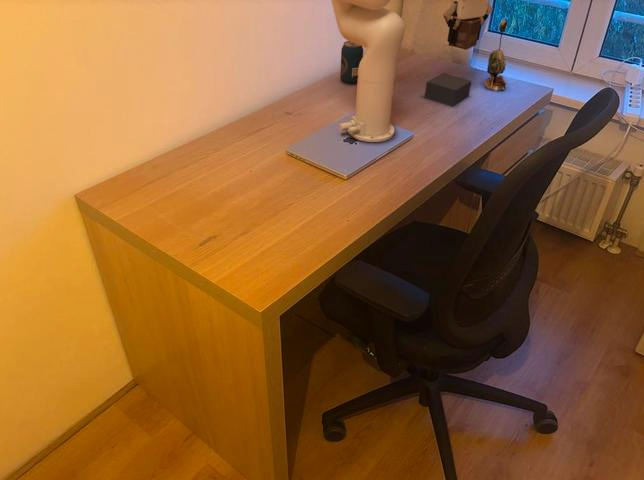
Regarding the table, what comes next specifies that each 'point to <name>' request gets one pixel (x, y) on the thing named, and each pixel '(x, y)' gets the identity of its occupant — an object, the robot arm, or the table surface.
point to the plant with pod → (497, 65)
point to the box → (467, 33)
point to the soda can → (350, 62)
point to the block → (447, 89)
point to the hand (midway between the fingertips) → (462, 40)
